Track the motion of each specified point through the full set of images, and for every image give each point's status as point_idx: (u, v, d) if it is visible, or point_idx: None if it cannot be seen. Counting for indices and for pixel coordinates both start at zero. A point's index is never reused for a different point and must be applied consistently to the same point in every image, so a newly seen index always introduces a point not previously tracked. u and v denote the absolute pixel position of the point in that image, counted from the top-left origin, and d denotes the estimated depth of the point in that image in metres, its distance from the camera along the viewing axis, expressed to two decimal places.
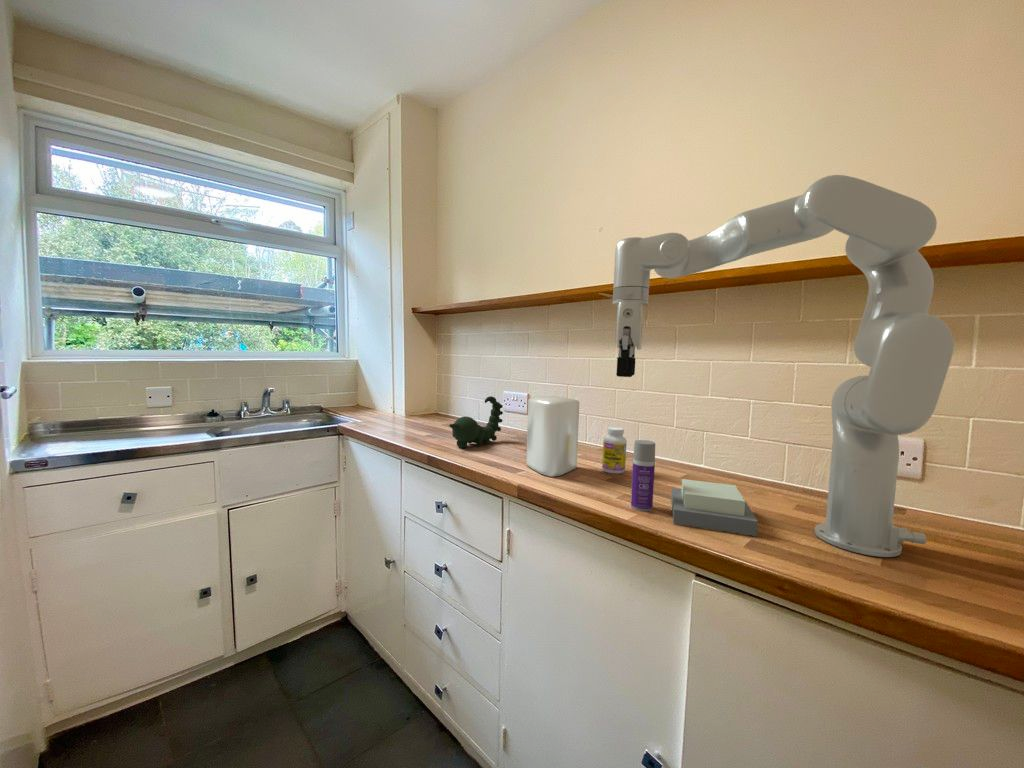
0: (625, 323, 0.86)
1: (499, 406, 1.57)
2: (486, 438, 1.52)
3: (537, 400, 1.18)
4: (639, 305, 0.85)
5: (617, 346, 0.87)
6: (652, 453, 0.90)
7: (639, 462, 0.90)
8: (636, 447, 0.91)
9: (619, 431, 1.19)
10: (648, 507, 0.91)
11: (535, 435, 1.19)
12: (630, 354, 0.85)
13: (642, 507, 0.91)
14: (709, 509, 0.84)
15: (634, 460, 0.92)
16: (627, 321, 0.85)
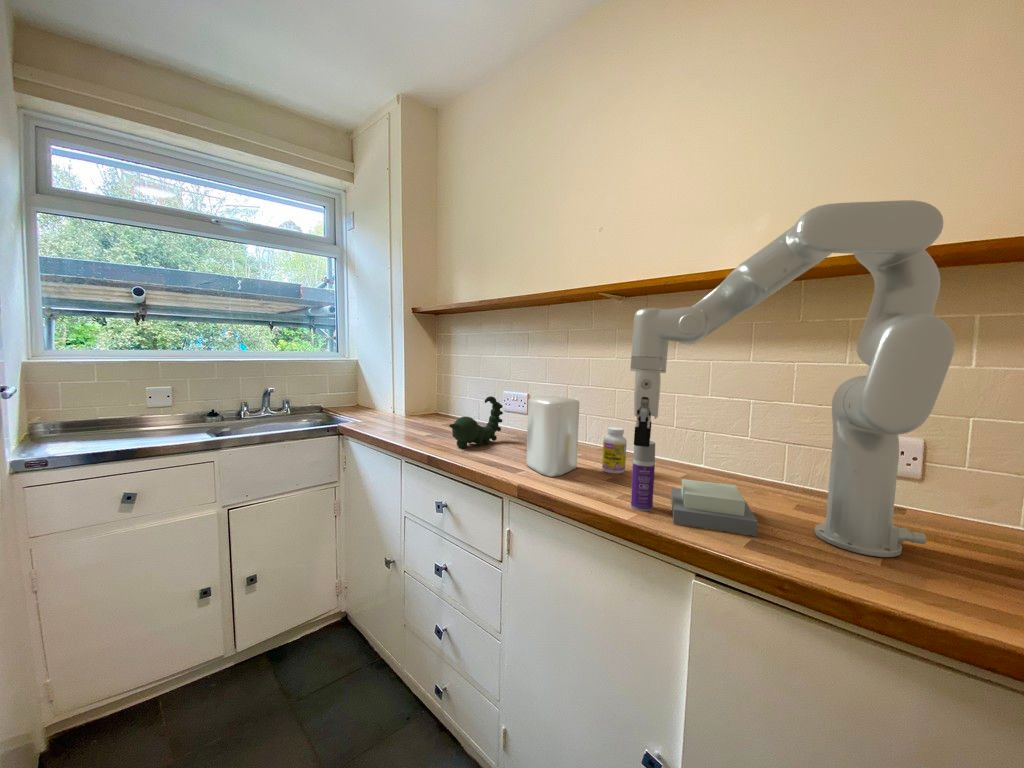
0: (643, 394, 0.87)
1: (499, 406, 1.57)
2: (486, 438, 1.52)
3: (537, 400, 1.18)
4: (657, 376, 0.86)
5: (635, 415, 0.88)
6: (652, 453, 0.90)
7: (639, 462, 0.90)
8: (636, 447, 0.91)
9: (619, 431, 1.19)
10: (648, 507, 0.91)
11: (535, 435, 1.19)
12: (648, 425, 0.86)
13: (642, 507, 0.91)
14: (709, 509, 0.84)
15: (634, 460, 0.92)
16: (645, 392, 0.86)
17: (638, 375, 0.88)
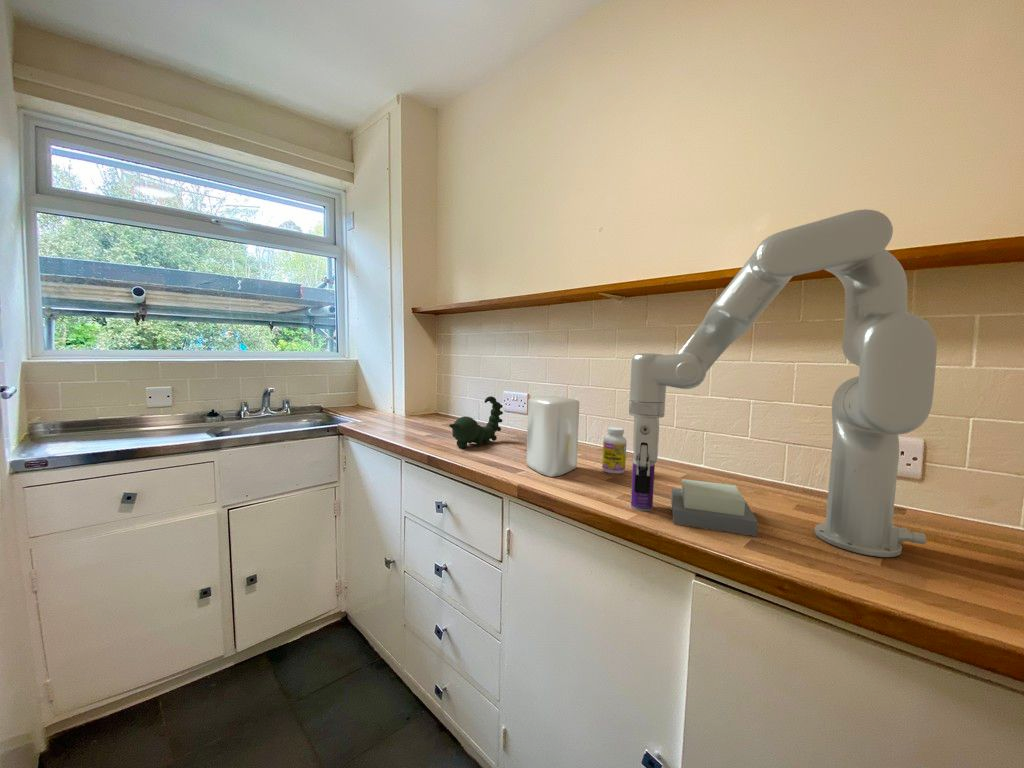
0: (642, 439, 0.87)
1: (499, 406, 1.57)
2: (486, 438, 1.52)
3: (537, 400, 1.18)
4: (656, 422, 0.87)
5: None
6: None
7: None
8: None
9: (619, 431, 1.19)
10: (648, 507, 0.91)
11: (535, 435, 1.19)
12: (648, 475, 0.88)
13: (642, 507, 0.91)
14: (709, 509, 0.84)
15: (634, 460, 0.92)
16: (644, 437, 0.87)
17: (637, 420, 0.88)
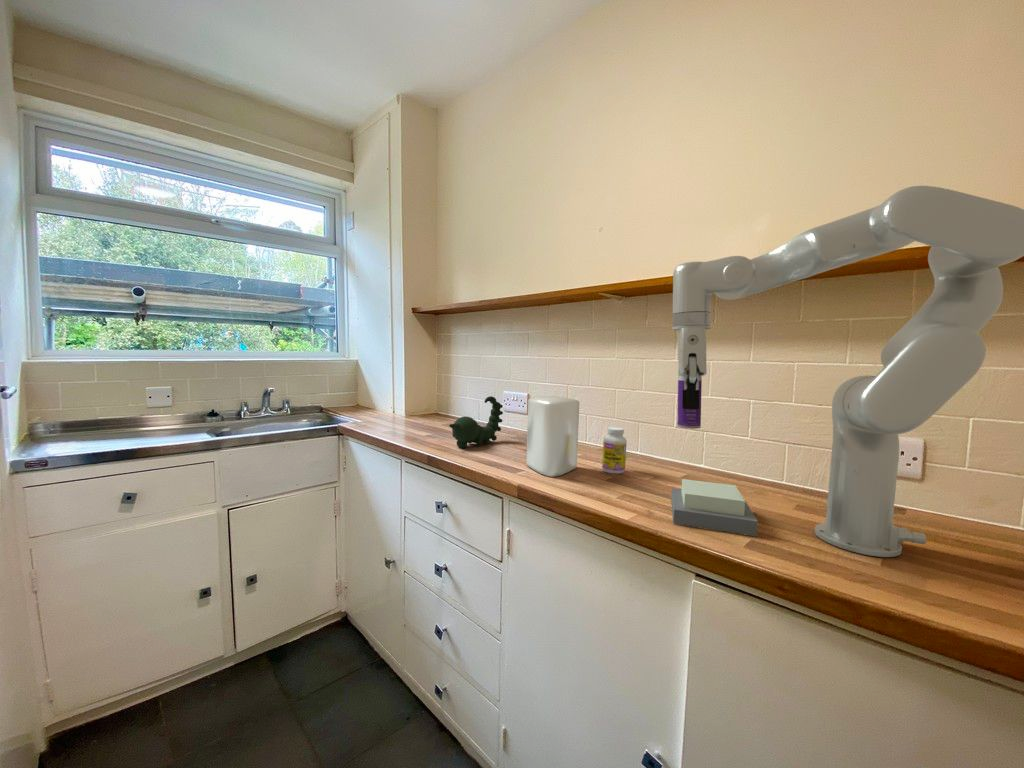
0: (690, 350, 0.83)
1: (499, 406, 1.57)
2: (486, 438, 1.52)
3: (537, 400, 1.18)
4: (704, 331, 0.83)
5: (682, 373, 0.85)
6: None
7: None
8: None
9: (619, 431, 1.19)
10: (697, 424, 0.87)
11: (535, 435, 1.19)
12: (697, 388, 0.84)
13: (691, 424, 0.87)
14: (709, 509, 0.84)
15: (680, 376, 0.88)
16: (692, 348, 0.83)
17: (683, 331, 0.84)
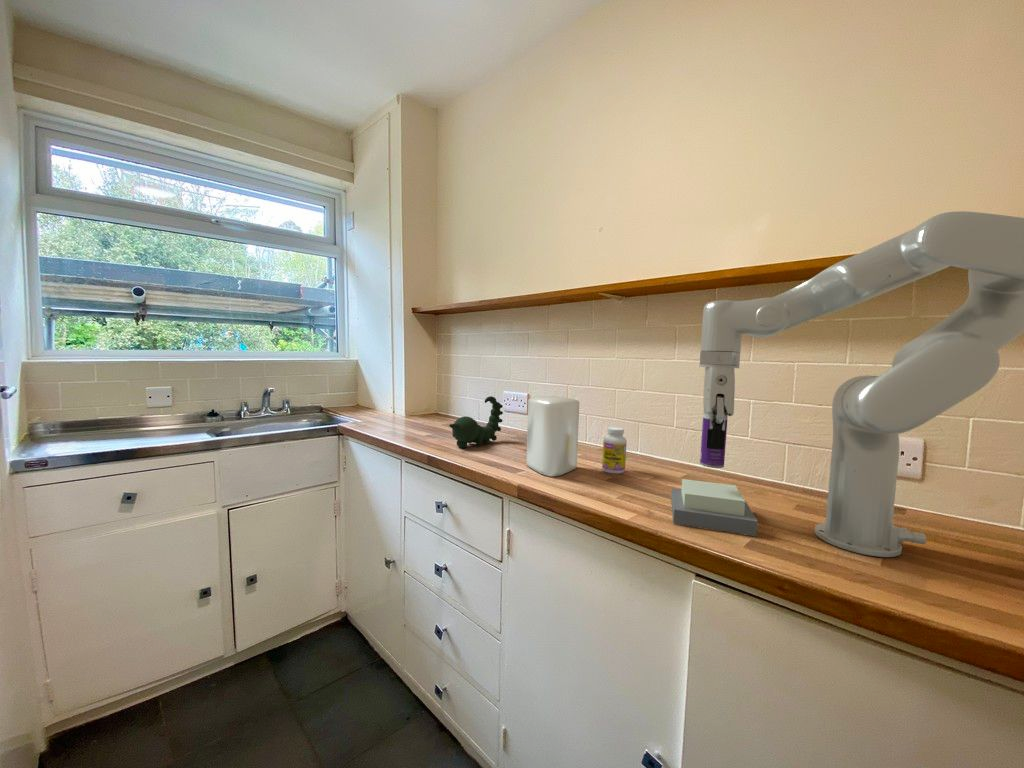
0: (718, 390, 0.82)
1: (499, 406, 1.57)
2: (486, 438, 1.52)
3: (537, 400, 1.18)
4: (733, 372, 0.82)
5: (708, 413, 0.84)
6: None
7: None
8: None
9: (619, 431, 1.19)
10: (721, 464, 0.86)
11: (535, 435, 1.19)
12: (723, 428, 0.83)
13: (714, 464, 0.86)
14: (709, 509, 0.84)
15: (705, 414, 0.87)
16: (721, 388, 0.82)
17: (711, 371, 0.83)
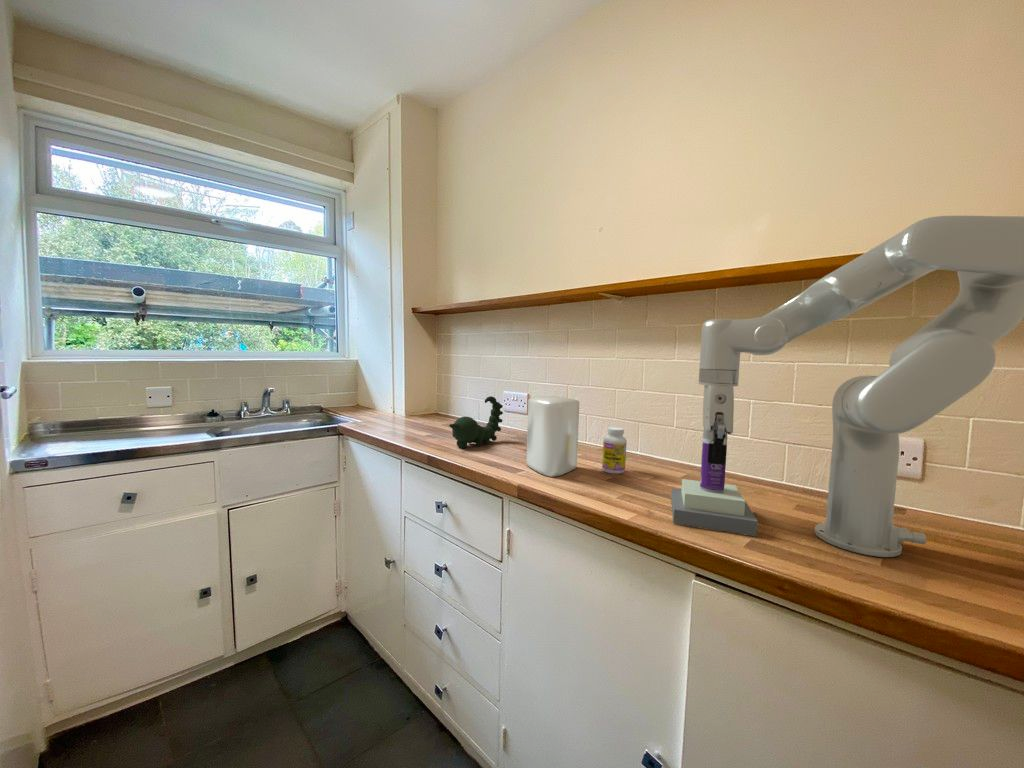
0: (717, 409, 0.82)
1: (499, 406, 1.57)
2: (486, 438, 1.52)
3: (537, 400, 1.18)
4: (732, 390, 0.82)
5: (707, 431, 0.84)
6: None
7: None
8: None
9: (619, 431, 1.19)
10: (721, 488, 0.86)
11: (535, 435, 1.19)
12: (724, 442, 0.81)
13: (714, 488, 0.86)
14: (709, 509, 0.84)
15: (705, 439, 0.87)
16: (720, 407, 0.82)
17: (711, 389, 0.83)
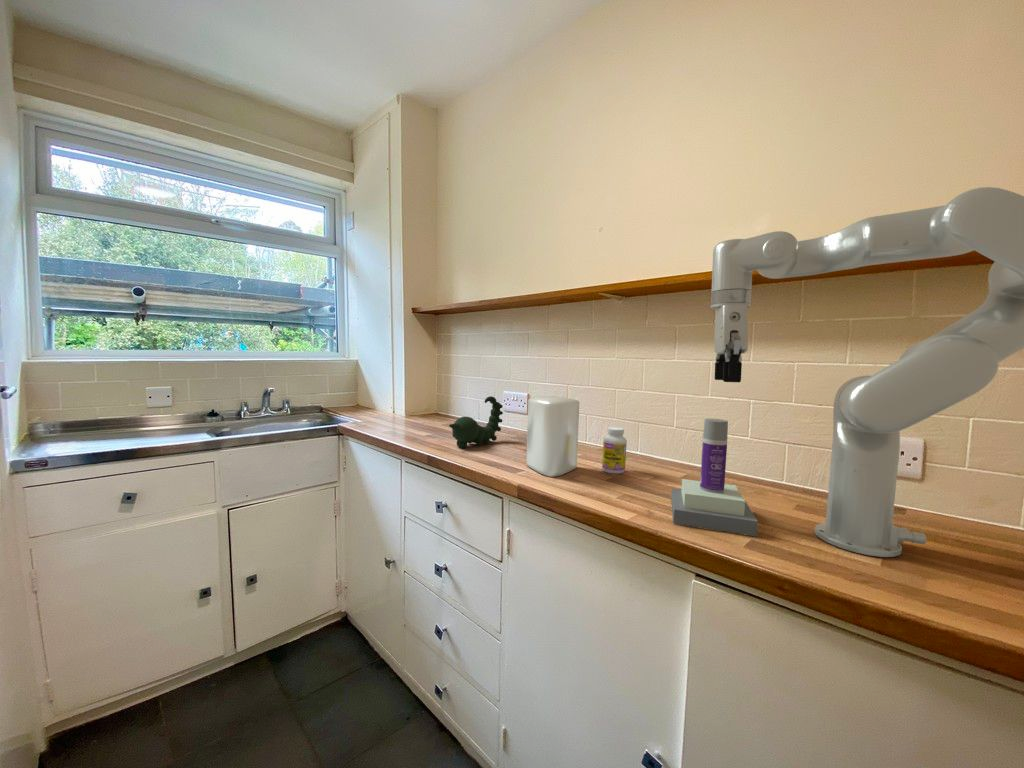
0: (732, 327, 0.83)
1: (499, 406, 1.57)
2: (486, 438, 1.52)
3: (537, 400, 1.18)
4: (746, 308, 0.83)
5: (722, 351, 0.85)
6: (725, 431, 0.85)
7: (712, 441, 0.86)
8: (708, 425, 0.86)
9: (619, 431, 1.19)
10: (721, 488, 0.86)
11: (535, 435, 1.19)
12: (740, 359, 0.82)
13: (714, 488, 0.86)
14: (709, 509, 0.84)
15: (705, 439, 0.87)
16: (734, 325, 0.83)
17: (724, 309, 0.84)
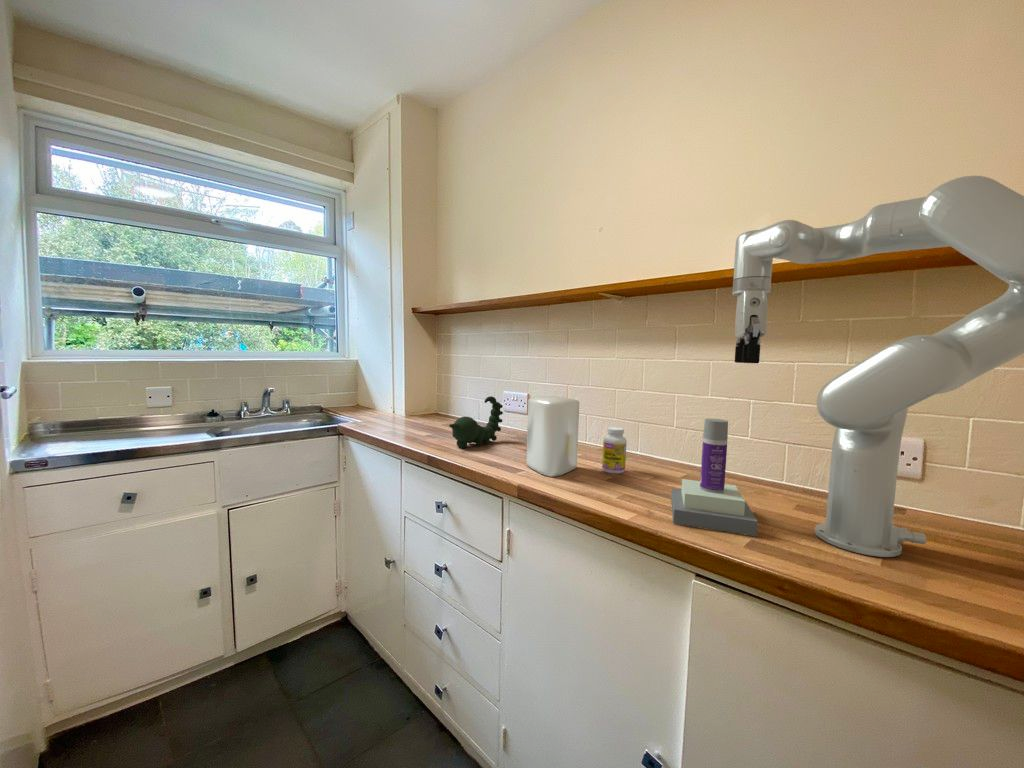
0: (752, 312, 0.90)
1: (499, 406, 1.57)
2: (486, 438, 1.52)
3: (537, 400, 1.18)
4: (765, 294, 0.89)
5: (742, 334, 0.91)
6: (725, 431, 0.85)
7: (712, 441, 0.86)
8: (708, 425, 0.86)
9: (619, 431, 1.19)
10: (721, 488, 0.86)
11: (535, 435, 1.19)
12: (758, 341, 0.88)
13: (714, 488, 0.86)
14: (709, 509, 0.84)
15: (705, 439, 0.87)
16: (754, 310, 0.89)
17: (745, 295, 0.91)
